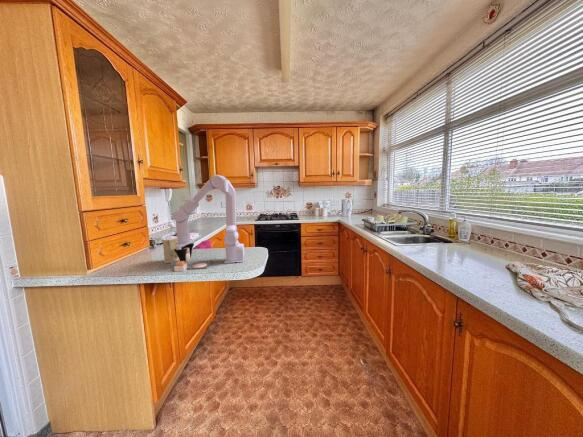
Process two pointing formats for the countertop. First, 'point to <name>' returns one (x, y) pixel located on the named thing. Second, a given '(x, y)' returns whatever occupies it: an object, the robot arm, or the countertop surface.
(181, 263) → the button
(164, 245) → the skincare box
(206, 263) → the picture board
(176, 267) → the button housing
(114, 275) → the countertop surface
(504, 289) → the countertop surface
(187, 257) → the rose marker
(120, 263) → the countertop surface
